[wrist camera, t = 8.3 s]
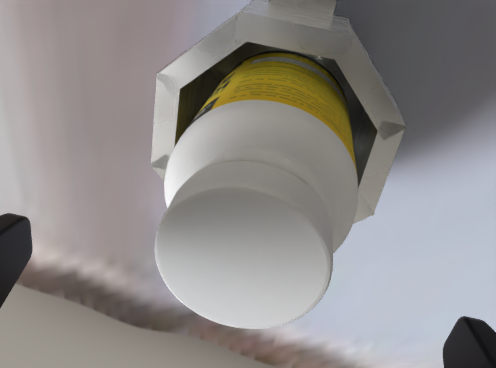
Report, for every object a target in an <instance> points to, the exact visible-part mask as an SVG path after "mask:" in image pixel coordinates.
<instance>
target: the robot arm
mask: <svg viewBox="0 0 496 368" xmlns="http://www.w3.org/2000/svg"><path fill="white" fill-rule="evenodd" d="M31 254H32V237H31V226H30V221H29V219H28V218H27V217H25V216H20V215H16V214H11V213H7V214H4V215H1V216H0V308H1V306H2V304H3V303H4V301H5V299H6V298H7V296H8V294H9V293H10V291H11V289H12V288H13V286H14V285H15V283H16V281H17V280H18V278H19V276H20V275H21V273H22V271H23V270H24V268H25V266H26V265H27V263H28V261H29V259H30V257H31ZM443 362H444V368H496V332H495V331H494V330H493V329H492V328H491V327H490V326H489V325H488V324H487V323H486V322H484V321H482V320H480V319H475V318H471V317H466V316H463V317H461V318H459V319H458V321H457V322H456V324H455V326H454V328H453V329H452V331H451V333H450V335H449V336H448V338H447V340H446V342H445V344H444V347H443Z"/></svg>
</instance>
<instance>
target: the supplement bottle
mask: <svg viewBox="0 0 496 368" xmlns="http://www.w3.org/2000/svg"><path fill="white" fill-rule="evenodd" d="M164 191H165V200H166V205H167V211H166V212H165V214H164V216H163V218H162V220H161V222H160V224H159V226H158V229H157V233H156V238H155V258H156V263H157V267H158V269H159V272H160V274H161V276H162V278H163V280H164V282H165V283H166V285H167V286H168V288H169V289H170V291H171V292H172V293H173V294H174V295H175V296H176V297H177V298H178V299H179V300H180V301H181V302H182V303H183V304H184V305H185V306H187V307H188V308H190V309H191V310H193V311H194V312H196V313H197V314H199V315H201V316H203V317H205V318H207V319H209V320H212V321H214V322H217V323H220V324H223V325H227V326H232V327H237V328H247V329H263V328H271V327H276V326H280V325H284V324H287V323H289V322H292V321H294V320H296V319H298V318H300V317H302V316H303V315H305V314H306V313H308V312H309V311H310V310H311V309H312V308H313V307H314V306H315V305H316V304H317V303H318V302H319V301H320V300H321V298H322V297H323V295H324V293H325V292H326V290H327V288H328V286H329V283H330V280H331V275H332V269H333V253H334V252H335V251H336V250H337V249H338V248H339V247H340V245H341V244H342V243H343V242H344V240H345V239H346V237H347V235H348V233H349V231H350V230H351V227H352V225H353V222H354V219H355V215H356V211H357V204H358V179H357V171H356V163H355V155H354V148H353V139H352V132H351V124H350V115H349V109H348V104H347V100H346V96H345V93H344V91H343V88H342V86H341V84H340V82H339V81H338V79H337V78H336V76H335V75H334V74H333V73H332V71H331V70H330V69H329V68H328V67H327V66H326V65H324V64H323V63H322V62H320V61H319V60H317V59H316V58H314V57H312V56H310V55H308V54H305V53H300V52H296V51H291V50H286V49H270V50H265V51H261V52H258V53H255V54H252V55H250V56H248V57H246V58H245V59H243V60H242V61H240V62H239V63H238V64H236V65H235V66H234V67H233V68H232V69H231V70H230V71H229V72H228V73H227V75H226V76H225V77H224V78H223V79H222V81H221V82H220V84H219V85H218V86H217V88H216V89H215V91H214V92H213V93H212V95H211V96H210V97H209V99H208V100H207V102H206V103H205V104H204V106H203V107H202V108H201V110H200V111H199V113H198V114H197V115H196V117H195V118H194V119H193V121H192V122H191V123H190V124H189V126H188V127H187V128H186V130H185V131H184V133H183V134H182V136H181V137H180V139H179V141H178V143H177V144H176V146H175V148H174V150H173V152H172V154H171V156H170V158H169V161H168V164H167V169H166V173H165V181H164Z"/></svg>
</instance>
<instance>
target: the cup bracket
mask: <svg viewBox="0 0 496 368" xmlns="http://www.w3.org/2000/svg"><path fill="white" fill-rule="evenodd" d="M336 2H337V0H269V2H267V1H262V0H252V1H251V2H250V3H248V4H247V5H246V6H245V7H244V8H243V9H241V10H240V11H239V12H238V13H236V14H235V15H234V16H232V17H231V18H230V19H228V20H227V21H225V22H224V23H223V24H221V25H220V26H219V27H218V28H216V29H215V30H214V31H212V32H211V33H210V34H208V35H207V36H206V37H204V38H203V39H202V40H200V41H199V42H198V43H196V44H195V45H194V46H192V47H191V48H190V49H188V50H185V51H184V52H183V53H181V54H180V55H179V56H178V57H176V58H175V59H174V60H173V61H171V62H170V63H169V64H168V65H166V66H165V67H164V68H163V69H161V70H160V71H159V72H157V75H156V76H157V83H156V97H155V112H154V127H153V142H152V157H151V164H150V165H151V167H153V168H154V170H155V171H156V172H157V173H158V174H159V176H160V177H161V178H162V179H163V180H164V181H165V173H166V169H167V164H168V161H169V158H170V156H171V154H172V152H173V150H174V148H175V146H176V144H177V143H178V141H179V139H180V137H181V136H182V134H183V133H184V131H185V130H186V128H187V127H188V126H189V124H190V123H191V122H192V121H193V119H194V118H195V117H196V115H197V114H198V113H199V111H200V110H201V108H202V107H203V106H204V104H205V103H206V102H207V100H208V99H209V97H210V96H211V95H212V93H213V92H214V91H215V89H216V88H217V86H218V85H219V84H220V82H221V81H222V79H223V78H224V77H225V76H226V75H227V73H228V72H229V71H230V70H231V69H232V68H233V67H234V66H235V65H236V64H238V63H239V62H240V61H242V60H243V59H245V58H246V57H248V56H250V55H252V54H255V53H258V52H261V51H265V50H270V49H286V50H291V51H296V52H300V53H305V54H308V55H310V56H312V57H314V58H316V59H317V60H319V61H320V62H322V63H323V64H324V65H326V66H327V67H328V68H329V69H330V70H331V71H332V73H333V74H334V75H335V76H336V78H337V79H338V81H339V82H340V84H341V86H342V88H343V91H344V93H345V96H346V100H347V104H348V109H349V115H350V124H351V132H352V139H353V148H354V155H355V163H356V171H357V179H358V204H357V211H356V215H355V219H354V222H353V224H354V223H356V222H358V221H360V220H362V219H365V218H367V217H369V216H371V215H372V216H373V214H375V213H374V211H375V208H376V206H377V203H378V200H379V198H380V195H381V192H382V190H383V187H384V184H385V182H386V179H387V176H388V174H389V171H390V168H391V166H392V163H393V160H394V158H395V155H396V152H397V150H398V147H399V144H400V142H401V139H402V136H403V134H404V131H405V129H406V126H407V125H406V123H405V121H404V119H403V117H402V115H401V113H400V111H399V109H398V107H397V104H396V102H395V100H394V98H393V96H392V94H391V93H390V92H389V91H388V89H387V87H386V85H385V84H384V82H383V80H382V78H381V77H380V75H379V73H378V71H377V70H376V68H375V66H374V64H373V63H372V61H371V59H370V57H369V55H368V53H367V51H366V49H365V48H364V46H363V45H362V43H361V42H360V40H359V38H358V36H357V35H356V33H355V31H354V29H353V28H352V26H351V24H350V21H349V19H348V18H347V17H341V16H336V15H333V14H334V10H335V6H336Z"/></svg>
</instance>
